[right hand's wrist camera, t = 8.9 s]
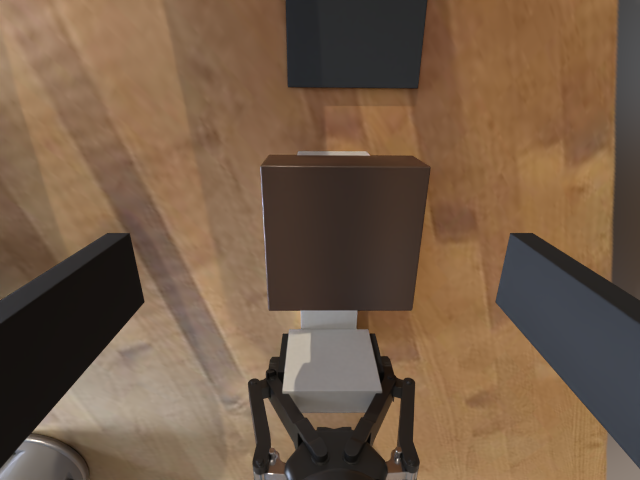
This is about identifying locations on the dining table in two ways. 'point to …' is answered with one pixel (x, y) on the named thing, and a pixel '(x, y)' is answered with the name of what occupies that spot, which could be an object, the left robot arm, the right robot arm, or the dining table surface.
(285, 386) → the bracket
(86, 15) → the dining table surface
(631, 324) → the right robot arm
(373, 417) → the left robot arm
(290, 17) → the slate mat
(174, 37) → the dining table surface
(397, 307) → the walnut cap
